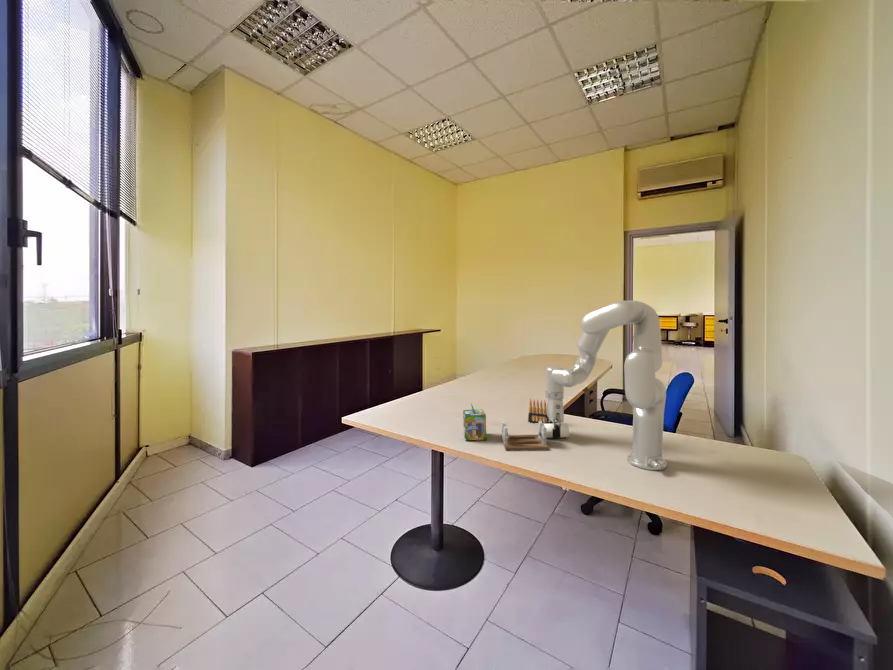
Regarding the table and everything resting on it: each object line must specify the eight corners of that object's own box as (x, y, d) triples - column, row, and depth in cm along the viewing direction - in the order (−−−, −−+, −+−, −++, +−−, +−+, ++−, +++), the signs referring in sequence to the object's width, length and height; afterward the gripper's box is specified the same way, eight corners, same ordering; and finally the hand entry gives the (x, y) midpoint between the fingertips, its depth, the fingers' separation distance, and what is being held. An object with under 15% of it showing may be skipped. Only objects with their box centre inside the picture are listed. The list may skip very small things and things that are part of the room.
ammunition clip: (528, 422, 174) (528, 398, 173) (528, 421, 175) (529, 397, 174) (549, 425, 169) (550, 401, 168) (550, 424, 170) (551, 400, 169)
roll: (569, 439, 151) (569, 425, 151) (543, 439, 151) (543, 426, 151) (564, 434, 157) (565, 421, 157) (539, 434, 157) (539, 421, 157)
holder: (548, 450, 140) (548, 430, 139) (505, 450, 140) (505, 430, 140) (539, 437, 154) (539, 419, 153) (500, 437, 154) (500, 419, 154)
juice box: (486, 440, 151) (486, 407, 150) (465, 441, 151) (465, 408, 149) (483, 433, 160) (482, 401, 159) (463, 433, 160) (462, 402, 159)
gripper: (569, 399, 144) (569, 442, 145) (557, 389, 161) (556, 427, 163) (551, 400, 144) (551, 442, 145) (540, 390, 161) (540, 428, 163)
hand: (554, 434), depth 154 cm, fingers closed on roll, 6 cm apart
